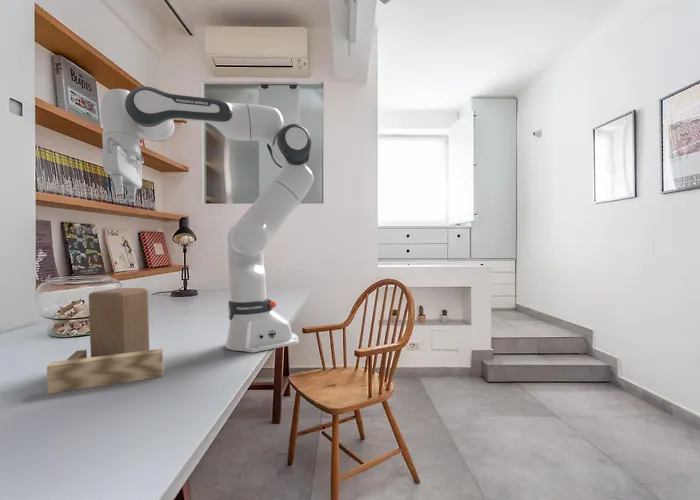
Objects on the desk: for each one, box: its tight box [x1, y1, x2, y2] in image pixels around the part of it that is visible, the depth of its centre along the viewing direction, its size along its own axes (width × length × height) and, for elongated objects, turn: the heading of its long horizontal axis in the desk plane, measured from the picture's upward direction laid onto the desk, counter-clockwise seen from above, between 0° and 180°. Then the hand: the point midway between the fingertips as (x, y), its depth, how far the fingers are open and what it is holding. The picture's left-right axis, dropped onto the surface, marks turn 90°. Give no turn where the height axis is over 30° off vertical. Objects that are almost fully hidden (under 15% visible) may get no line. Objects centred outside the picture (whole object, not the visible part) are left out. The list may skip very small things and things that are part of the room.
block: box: [88, 287, 150, 357], centre depth 96 cm, size 10×10×20 cm
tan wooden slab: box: [46, 348, 164, 395], centre depth 86 cm, size 22×11×6 cm, turn 114°
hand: (125, 197), depth 98 cm, fingers open, 8 cm apart
